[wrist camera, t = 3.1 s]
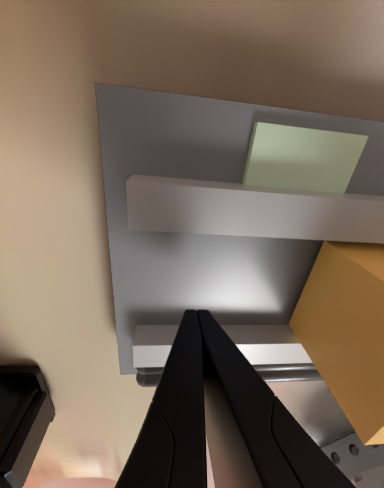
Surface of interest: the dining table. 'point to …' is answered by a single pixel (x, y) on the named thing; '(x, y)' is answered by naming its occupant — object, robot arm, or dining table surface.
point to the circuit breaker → (358, 460)
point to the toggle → (347, 330)
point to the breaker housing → (227, 218)
